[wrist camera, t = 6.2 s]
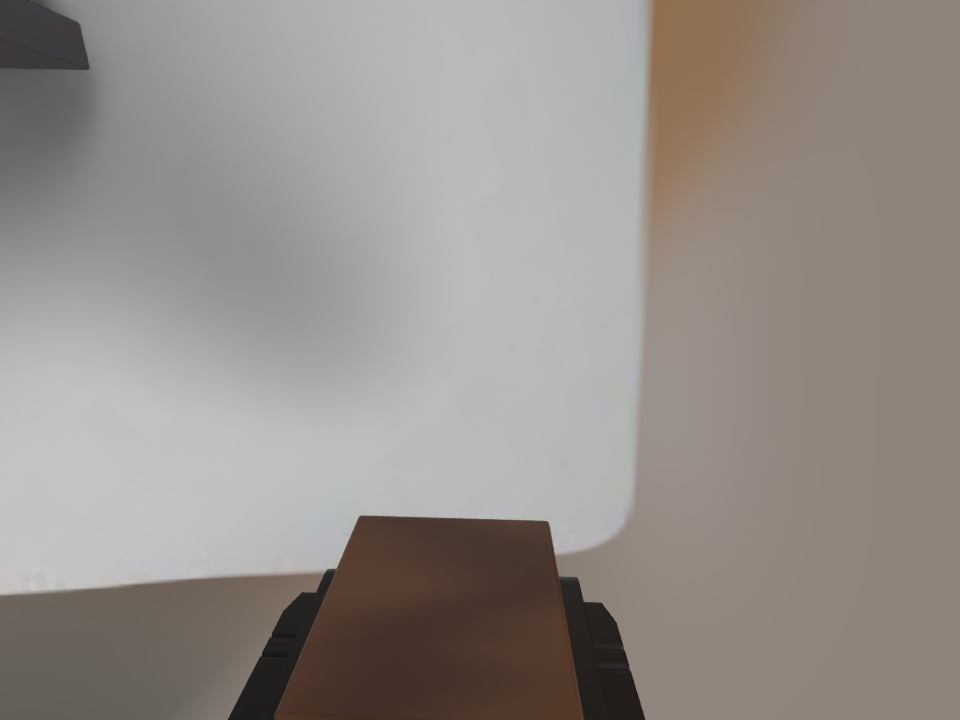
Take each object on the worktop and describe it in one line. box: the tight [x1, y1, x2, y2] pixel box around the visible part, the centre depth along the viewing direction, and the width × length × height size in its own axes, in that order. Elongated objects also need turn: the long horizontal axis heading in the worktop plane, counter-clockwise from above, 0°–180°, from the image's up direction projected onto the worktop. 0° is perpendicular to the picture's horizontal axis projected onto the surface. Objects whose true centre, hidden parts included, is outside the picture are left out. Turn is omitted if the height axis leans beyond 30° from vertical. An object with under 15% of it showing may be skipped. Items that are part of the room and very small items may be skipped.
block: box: [274, 516, 584, 720], centre depth 9 cm, size 4×4×4 cm
